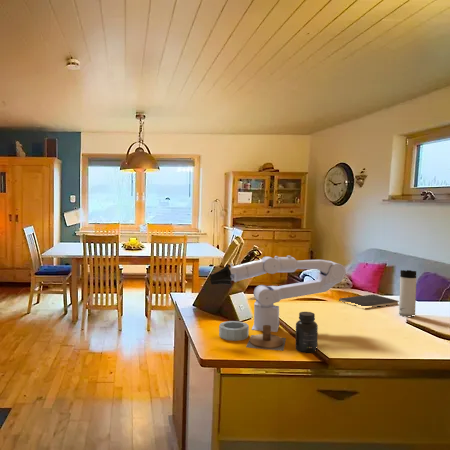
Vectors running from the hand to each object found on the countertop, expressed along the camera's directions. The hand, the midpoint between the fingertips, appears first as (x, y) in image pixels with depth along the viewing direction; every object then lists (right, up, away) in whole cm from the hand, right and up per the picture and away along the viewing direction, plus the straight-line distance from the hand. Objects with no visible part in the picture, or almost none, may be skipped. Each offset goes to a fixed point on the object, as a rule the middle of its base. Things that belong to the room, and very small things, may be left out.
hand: (210, 280), depth 138 cm
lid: (+19, -19, -13) cm, 30 cm away
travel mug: (+84, -19, +23) cm, 89 cm away
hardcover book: (+75, -19, +45) cm, 90 cm away
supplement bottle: (+31, -20, -19) cm, 42 cm away
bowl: (+8, -19, -7) cm, 22 cm away
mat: (+19, -19, -13) cm, 30 cm away
